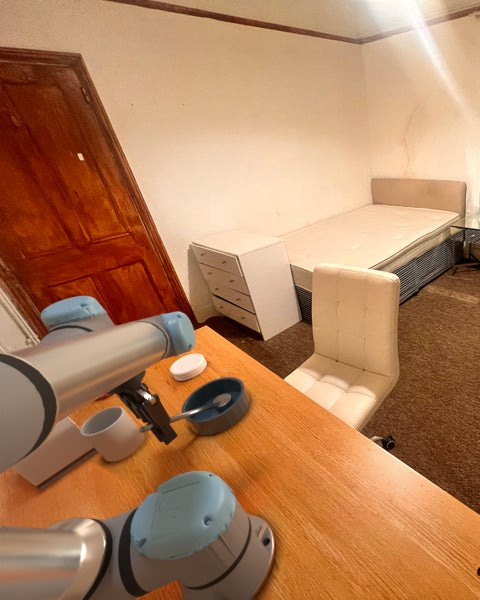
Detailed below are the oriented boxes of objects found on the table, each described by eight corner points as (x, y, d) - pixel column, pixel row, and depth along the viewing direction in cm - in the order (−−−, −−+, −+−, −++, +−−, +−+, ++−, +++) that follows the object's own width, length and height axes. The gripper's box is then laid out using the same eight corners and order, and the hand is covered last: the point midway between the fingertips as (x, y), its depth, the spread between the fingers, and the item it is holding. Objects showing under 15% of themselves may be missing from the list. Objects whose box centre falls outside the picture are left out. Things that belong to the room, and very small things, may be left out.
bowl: (218, 444, 79) (209, 429, 76) (178, 426, 85) (168, 412, 82) (262, 398, 91) (256, 384, 88) (224, 385, 97) (217, 371, 94)
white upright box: (84, 433, 85) (-13, 333, 67) (100, 450, 80) (0, 347, 62) (28, 469, 77) (-101, 366, 59) (41, 491, 72) (-95, 386, 54)
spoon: (225, 396, 91) (208, 365, 84) (237, 400, 89) (220, 369, 82) (158, 458, 75) (131, 427, 69) (171, 465, 74) (144, 433, 67)
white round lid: (204, 356, 110) (200, 348, 108) (210, 370, 103) (206, 363, 102) (172, 370, 105) (167, 362, 103) (176, 386, 98) (171, 378, 96)
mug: (152, 438, 82) (131, 411, 77) (118, 467, 76) (91, 440, 70) (126, 425, 87) (103, 398, 81) (90, 451, 80) (63, 425, 74)
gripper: (156, 363, 62) (203, 434, 75) (114, 348, 67) (164, 417, 80) (115, 390, 57) (173, 463, 69) (73, 372, 62) (134, 442, 74)
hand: (168, 438), depth 74 cm, fingers closed on spoon
